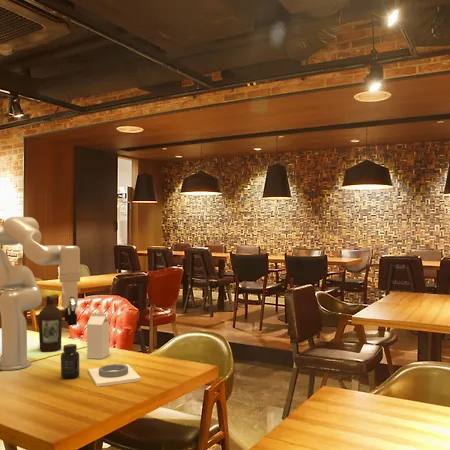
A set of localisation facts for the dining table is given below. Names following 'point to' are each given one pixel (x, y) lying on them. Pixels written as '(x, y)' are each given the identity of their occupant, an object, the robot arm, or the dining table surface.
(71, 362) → the supplement bottle
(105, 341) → the milk carton
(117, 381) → the dock
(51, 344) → the olive oil
